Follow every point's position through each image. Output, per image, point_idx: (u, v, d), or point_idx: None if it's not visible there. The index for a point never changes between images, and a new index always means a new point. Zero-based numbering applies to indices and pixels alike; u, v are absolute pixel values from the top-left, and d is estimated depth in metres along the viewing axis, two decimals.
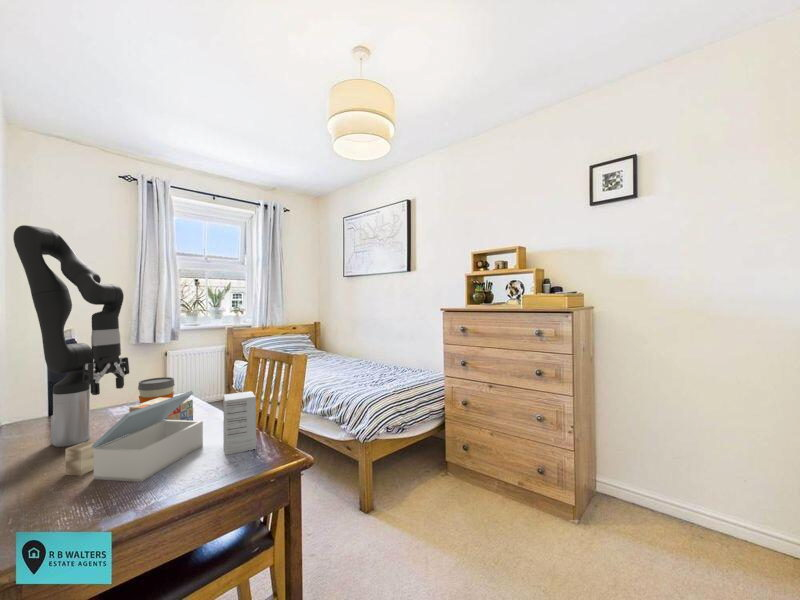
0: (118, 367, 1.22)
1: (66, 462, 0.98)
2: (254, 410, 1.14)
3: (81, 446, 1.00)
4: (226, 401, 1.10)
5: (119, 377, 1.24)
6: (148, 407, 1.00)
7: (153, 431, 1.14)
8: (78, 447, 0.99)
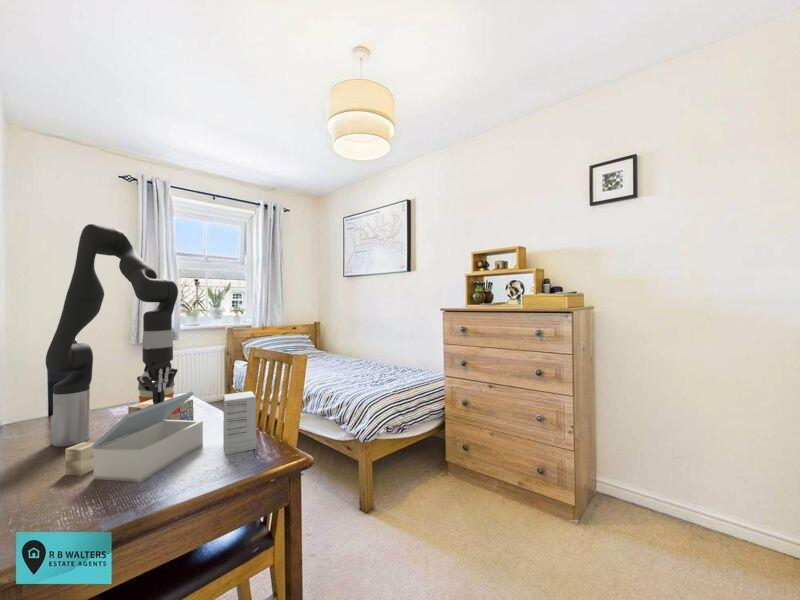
0: (166, 375, 1.07)
1: (66, 462, 0.98)
2: (254, 410, 1.14)
3: (81, 446, 1.00)
4: (226, 401, 1.10)
5: None
6: (149, 408, 1.00)
7: (153, 431, 1.14)
8: (78, 447, 0.99)
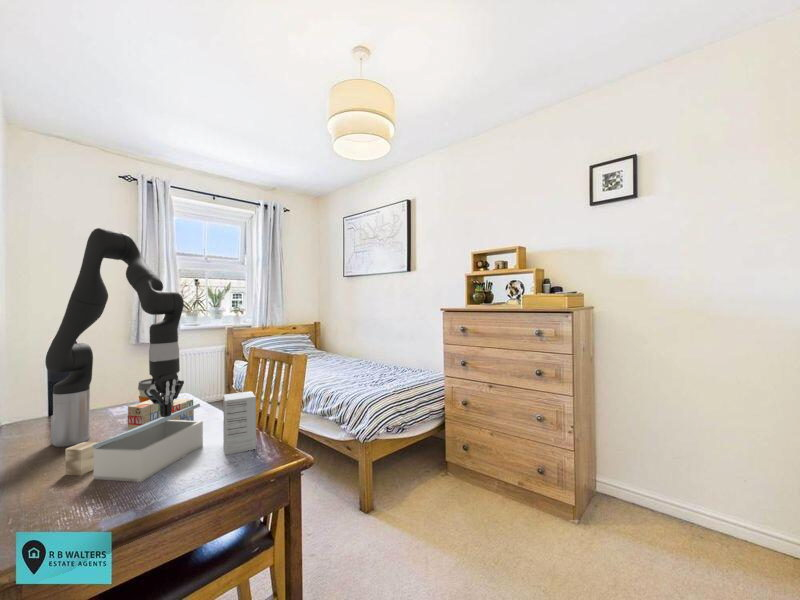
0: (173, 387, 1.07)
1: (66, 462, 0.98)
2: (254, 410, 1.14)
3: (81, 446, 1.00)
4: (226, 401, 1.10)
5: None
6: (156, 422, 1.00)
7: (153, 431, 1.14)
8: (78, 447, 0.99)
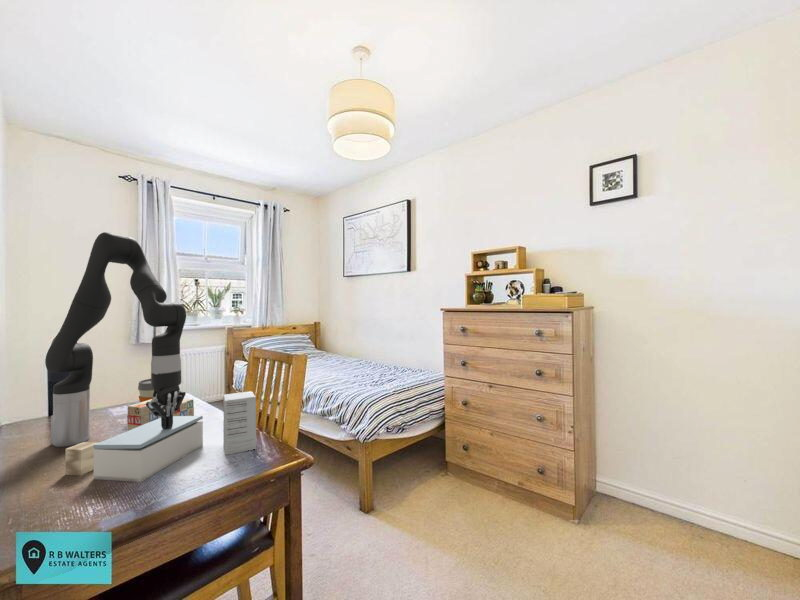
0: (175, 399, 1.07)
1: (66, 462, 0.98)
2: (254, 410, 1.14)
3: (81, 446, 1.00)
4: (226, 401, 1.10)
5: None
6: (160, 437, 1.00)
7: None
8: (78, 447, 0.99)
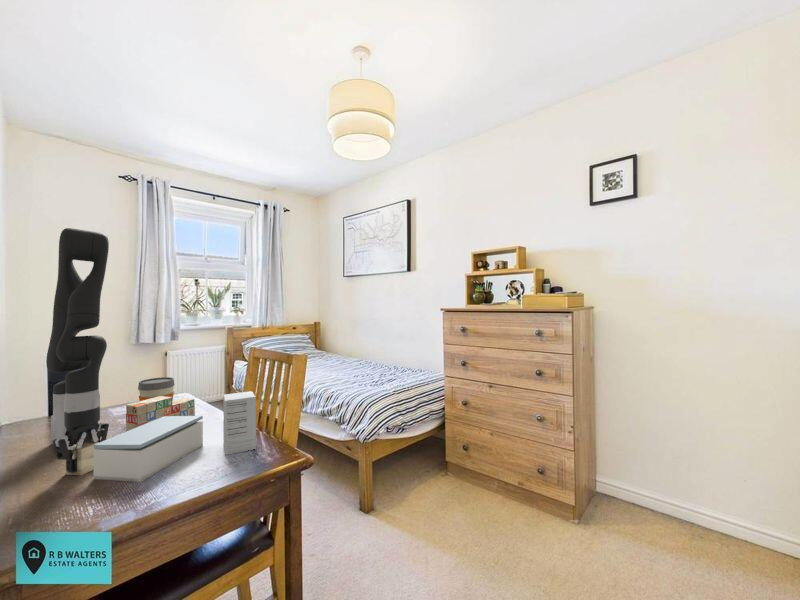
0: (94, 436, 1.02)
1: None
2: (254, 410, 1.14)
3: None
4: (226, 401, 1.10)
5: None
6: (160, 437, 1.00)
7: None
8: None
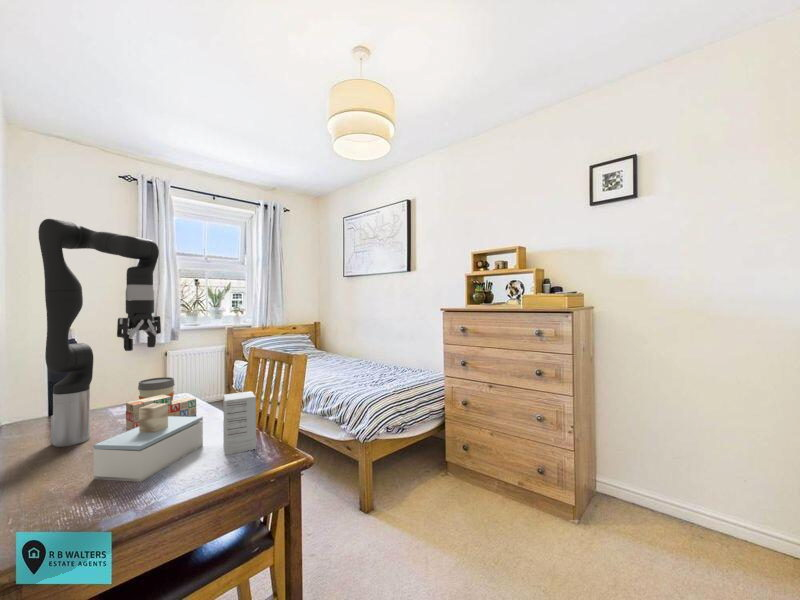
0: (151, 325, 1.18)
1: (140, 420, 1.04)
2: (254, 410, 1.14)
3: (153, 406, 1.06)
4: (226, 401, 1.10)
5: (151, 336, 1.20)
6: (160, 438, 1.00)
7: None
8: (150, 406, 1.05)
